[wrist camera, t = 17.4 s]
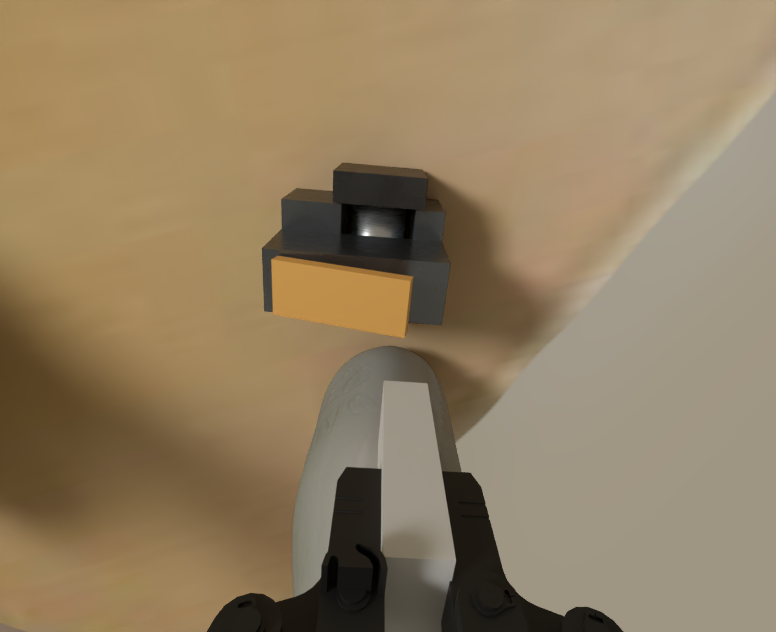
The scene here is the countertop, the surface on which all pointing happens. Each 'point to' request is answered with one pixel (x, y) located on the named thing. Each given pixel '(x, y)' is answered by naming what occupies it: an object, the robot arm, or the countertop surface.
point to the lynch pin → (379, 197)
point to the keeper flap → (341, 295)
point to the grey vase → (354, 445)
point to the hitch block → (364, 248)
